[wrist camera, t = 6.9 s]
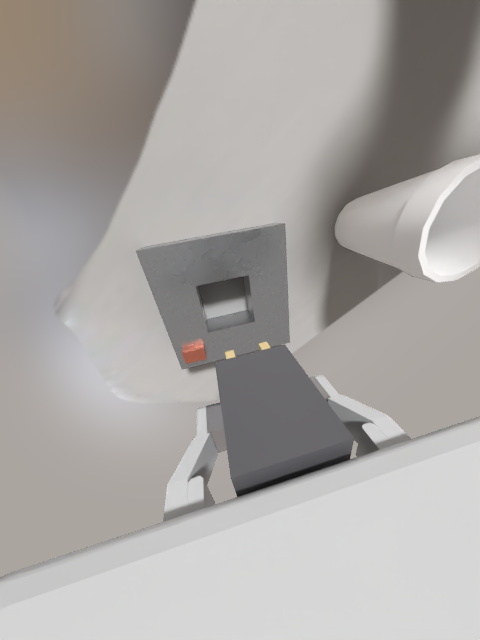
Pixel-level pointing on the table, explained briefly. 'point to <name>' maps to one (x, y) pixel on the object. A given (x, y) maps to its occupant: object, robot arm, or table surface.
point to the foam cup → (420, 223)
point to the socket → (212, 266)
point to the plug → (275, 420)
